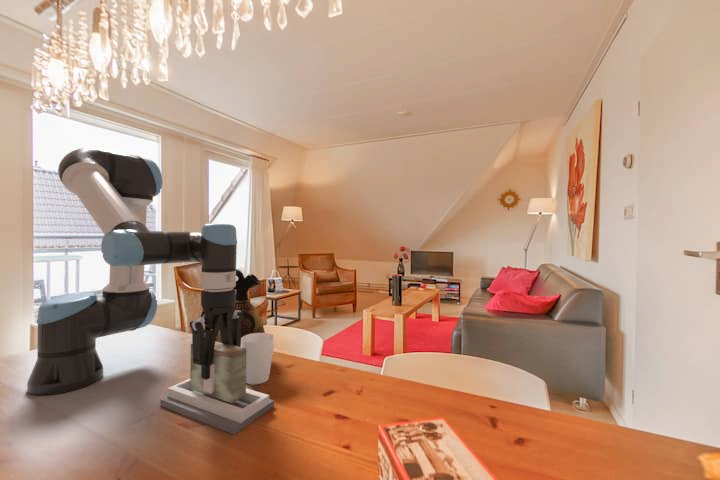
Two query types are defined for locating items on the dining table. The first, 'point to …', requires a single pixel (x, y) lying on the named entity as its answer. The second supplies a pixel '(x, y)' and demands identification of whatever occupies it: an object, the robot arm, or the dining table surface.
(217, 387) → the beige textured block
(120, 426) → the dining table surface
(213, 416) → the track base
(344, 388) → the dining table surface
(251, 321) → the ceramic jug
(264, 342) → the cup
